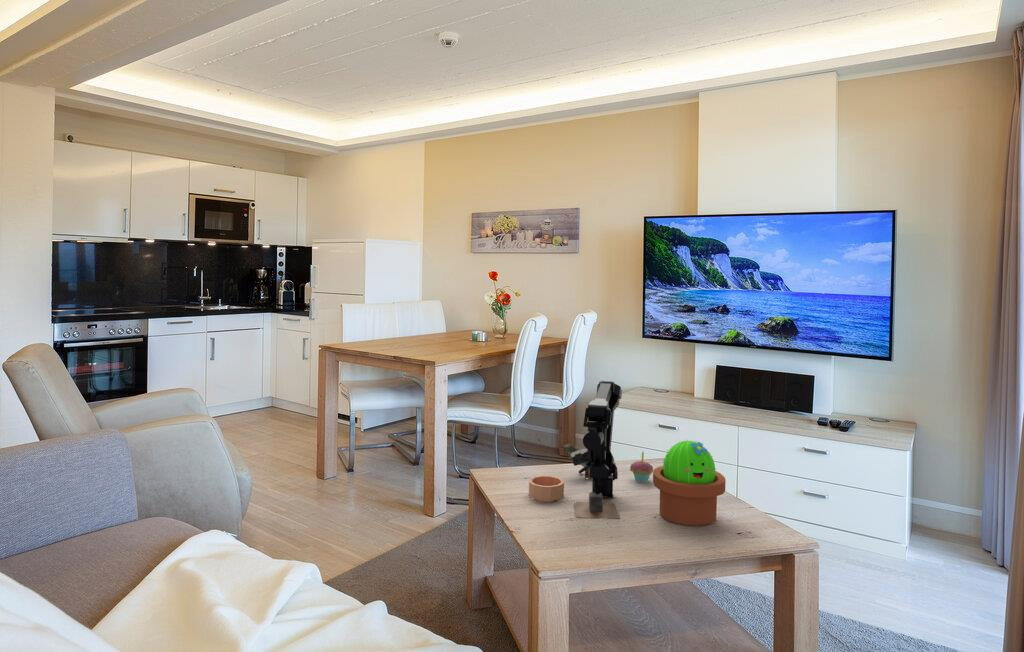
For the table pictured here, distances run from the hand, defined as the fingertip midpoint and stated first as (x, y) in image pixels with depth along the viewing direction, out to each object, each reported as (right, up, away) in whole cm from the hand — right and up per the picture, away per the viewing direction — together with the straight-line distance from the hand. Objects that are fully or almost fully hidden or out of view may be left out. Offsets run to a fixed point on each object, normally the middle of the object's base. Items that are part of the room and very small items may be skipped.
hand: (596, 489), depth 204 cm
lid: (0, -8, 0) cm, 8 cm away
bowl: (-16, -6, +14) cm, 22 cm away
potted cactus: (+29, -8, -4) cm, 30 cm away
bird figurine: (+2, -4, +37) cm, 37 cm away
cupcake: (+21, -5, +31) cm, 38 cm away
